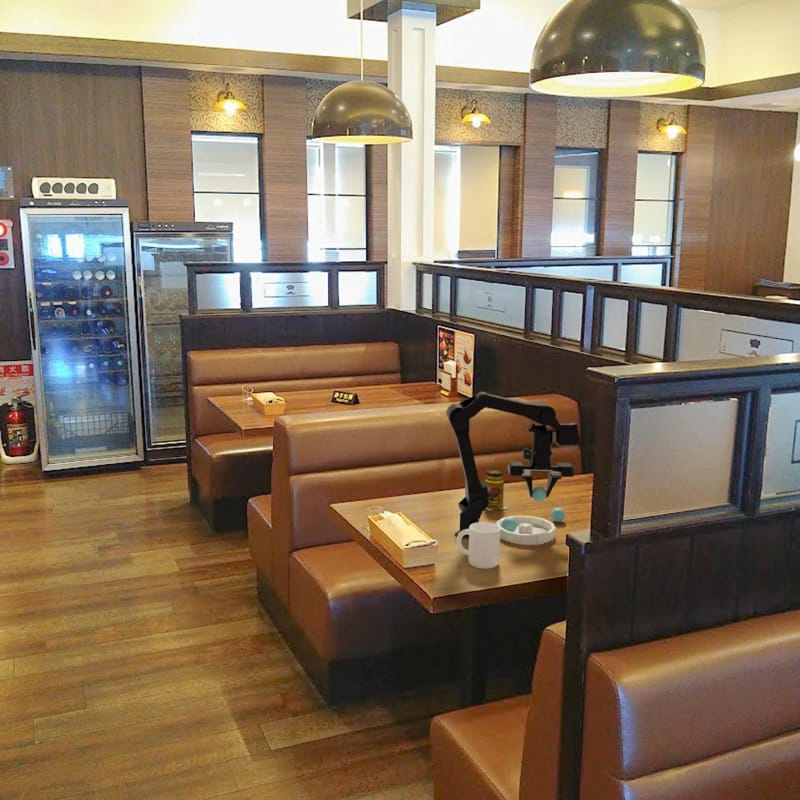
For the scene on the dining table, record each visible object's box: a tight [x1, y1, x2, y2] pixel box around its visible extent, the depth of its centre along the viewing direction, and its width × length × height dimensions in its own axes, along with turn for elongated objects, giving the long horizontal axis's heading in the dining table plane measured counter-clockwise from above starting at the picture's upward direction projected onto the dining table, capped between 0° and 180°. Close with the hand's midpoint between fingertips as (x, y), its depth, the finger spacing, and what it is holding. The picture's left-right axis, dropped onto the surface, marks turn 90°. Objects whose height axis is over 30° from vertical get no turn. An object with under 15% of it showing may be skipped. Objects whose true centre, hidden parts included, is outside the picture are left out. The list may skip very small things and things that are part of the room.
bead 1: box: [502, 516, 517, 532], centre depth 250 cm, size 4×4×4 cm
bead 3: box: [550, 507, 566, 523], centre depth 262 cm, size 4×4×4 cm
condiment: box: [484, 469, 509, 512], centre depth 275 cm, size 7×8×12 cm
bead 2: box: [531, 485, 547, 502], centre depth 249 cm, size 4×4×4 cm
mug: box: [456, 521, 501, 570], centre depth 228 cm, size 12×8×10 cm
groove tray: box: [495, 515, 557, 546], centre depth 250 cm, size 17×17×3 cm
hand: (538, 497), depth 250 cm, fingers closed on bead 2, 4 cm apart
